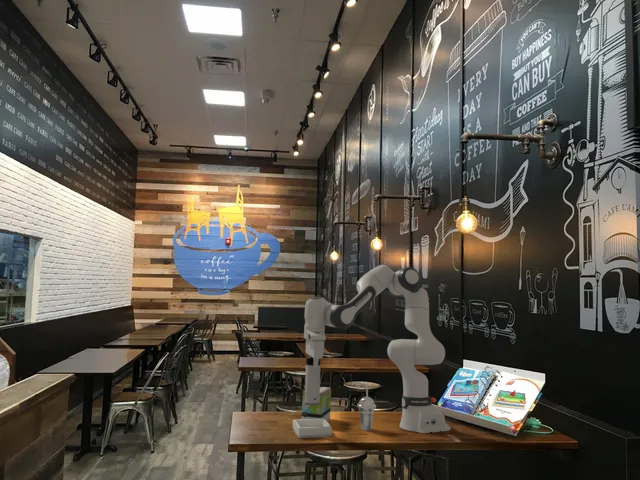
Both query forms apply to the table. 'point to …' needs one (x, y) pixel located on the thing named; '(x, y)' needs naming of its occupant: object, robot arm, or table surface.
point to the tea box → (318, 406)
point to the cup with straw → (366, 410)
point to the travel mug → (312, 383)
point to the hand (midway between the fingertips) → (313, 367)
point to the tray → (312, 428)
